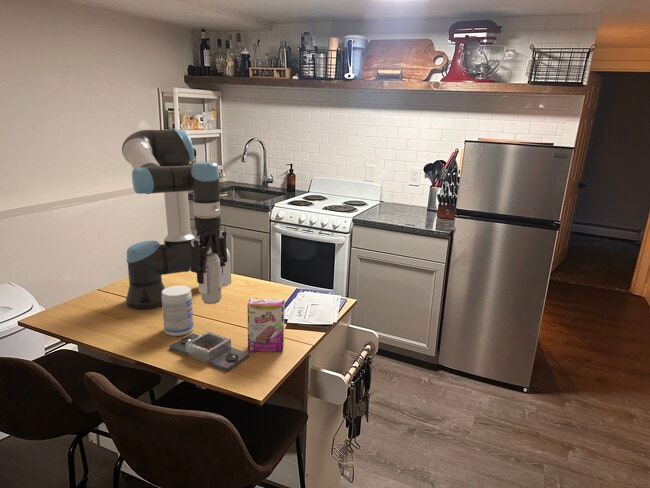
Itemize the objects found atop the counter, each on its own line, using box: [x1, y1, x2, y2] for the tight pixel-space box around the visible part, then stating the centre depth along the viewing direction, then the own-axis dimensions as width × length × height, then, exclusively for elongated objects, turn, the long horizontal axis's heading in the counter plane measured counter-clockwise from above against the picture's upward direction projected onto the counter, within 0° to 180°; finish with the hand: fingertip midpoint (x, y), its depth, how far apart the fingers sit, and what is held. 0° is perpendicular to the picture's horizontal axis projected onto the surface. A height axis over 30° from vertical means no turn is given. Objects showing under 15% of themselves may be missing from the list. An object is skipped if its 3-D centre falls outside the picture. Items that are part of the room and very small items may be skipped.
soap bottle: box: [208, 226, 232, 287], centre depth 195 cm, size 11×8×27 cm
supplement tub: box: [161, 285, 195, 337], centre depth 157 cm, size 10×10×15 cm
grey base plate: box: [168, 330, 250, 372], centre depth 144 cm, size 24×10×4 cm, turn 59°
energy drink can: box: [200, 252, 222, 305], centre depth 142 cm, size 6×6×15 cm
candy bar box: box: [247, 297, 286, 353], centre depth 146 cm, size 11×5×16 cm, turn 91°
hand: (211, 289), depth 143 cm, fingers closed on energy drink can, 6 cm apart
